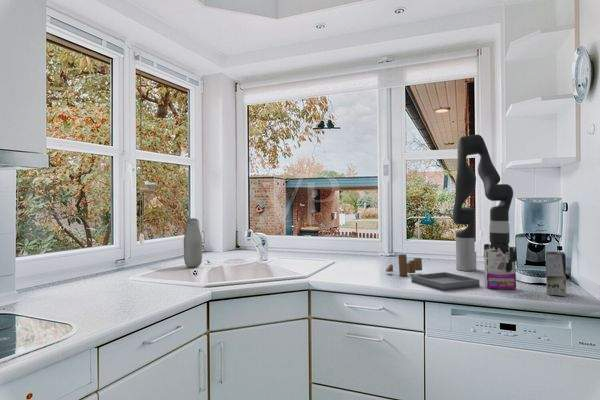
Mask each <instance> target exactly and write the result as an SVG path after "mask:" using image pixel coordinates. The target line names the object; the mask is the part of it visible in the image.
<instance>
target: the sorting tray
mask: <svg viewBox="0 0 600 400" xmlns="http://www.w3.org/2000/svg"><path fill="white" fill-rule="evenodd" d="M410 277H411V283H414V284H417V285H421V286H424V287H429V288H432V289H435V290H438V291H441V292H446V291H454V290H455V291H456V290H464V289H470V288H471V289H472V288H479V287H480V279H478V278H474V277H469V276H464V275H460V274H456V273H452V272H446V271H443V272H440V271H439V272H432V273H421V274H412V275H411V276H410Z"/></svg>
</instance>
